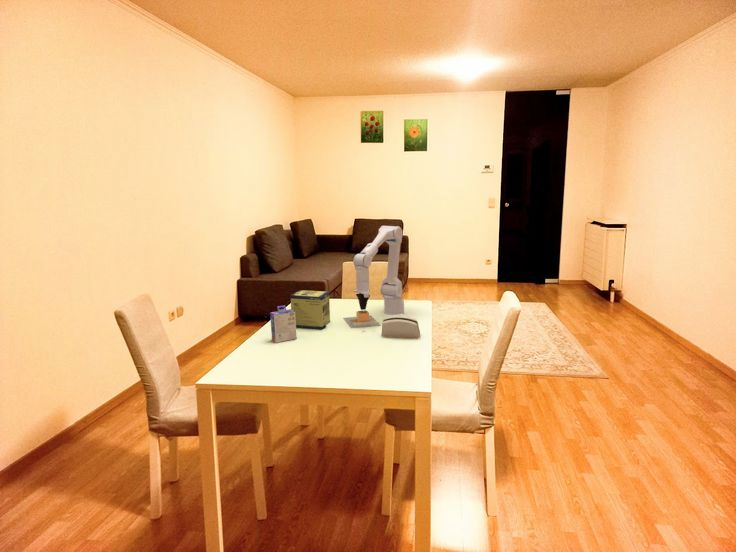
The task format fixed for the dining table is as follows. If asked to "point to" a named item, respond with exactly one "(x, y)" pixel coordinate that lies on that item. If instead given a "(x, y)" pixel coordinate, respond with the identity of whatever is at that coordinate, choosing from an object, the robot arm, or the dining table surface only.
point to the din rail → (358, 324)
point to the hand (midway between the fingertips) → (363, 309)
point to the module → (362, 316)
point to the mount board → (356, 318)
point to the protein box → (311, 309)
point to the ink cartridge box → (283, 324)
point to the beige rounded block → (400, 327)
